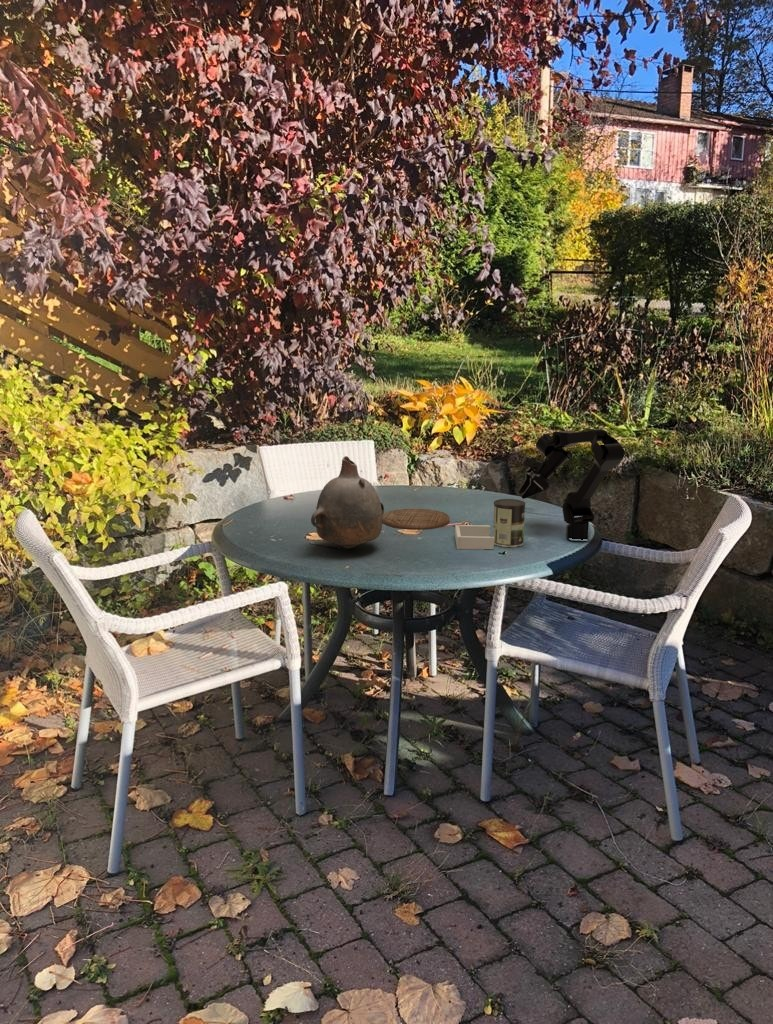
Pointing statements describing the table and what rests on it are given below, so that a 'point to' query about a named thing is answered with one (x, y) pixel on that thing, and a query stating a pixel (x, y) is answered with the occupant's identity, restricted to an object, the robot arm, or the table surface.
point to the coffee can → (509, 522)
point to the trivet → (415, 519)
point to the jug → (348, 509)
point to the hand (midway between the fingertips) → (520, 495)
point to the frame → (473, 537)
